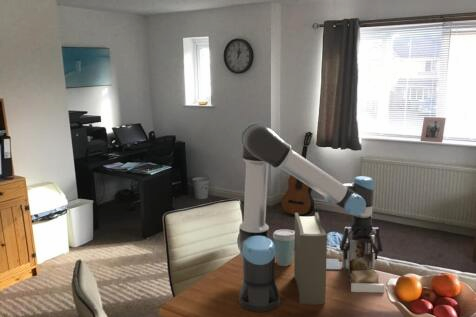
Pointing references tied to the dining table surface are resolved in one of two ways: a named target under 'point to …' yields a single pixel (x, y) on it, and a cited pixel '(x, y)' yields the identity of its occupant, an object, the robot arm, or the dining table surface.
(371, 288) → the rack
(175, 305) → the dining table surface
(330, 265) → the mat
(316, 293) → the book
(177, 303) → the dining table surface
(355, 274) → the offcut upper
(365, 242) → the coffee box
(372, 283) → the offcut lower
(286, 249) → the disposable coffee cup
